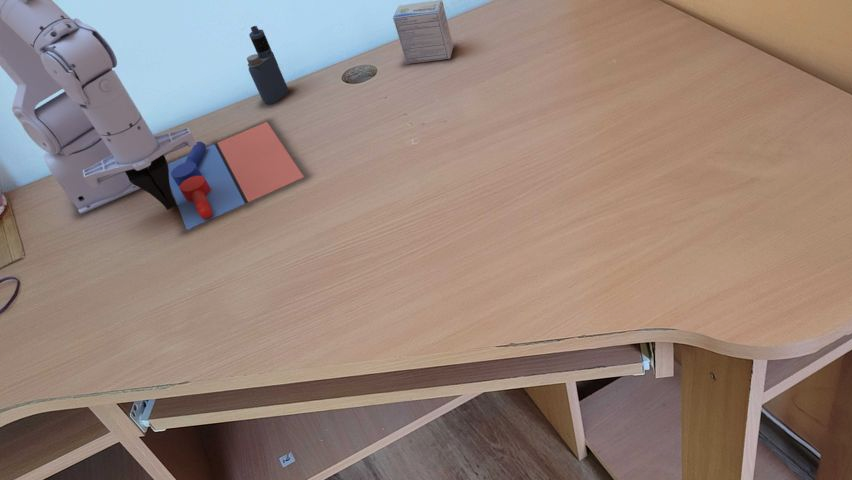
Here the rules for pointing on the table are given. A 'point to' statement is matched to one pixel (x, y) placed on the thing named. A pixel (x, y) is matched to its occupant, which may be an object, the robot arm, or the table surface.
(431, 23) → the medicine box
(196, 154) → the blue spoon
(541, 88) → the table surface
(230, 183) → the sorting mat
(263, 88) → the vaping device
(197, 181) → the red spoon
